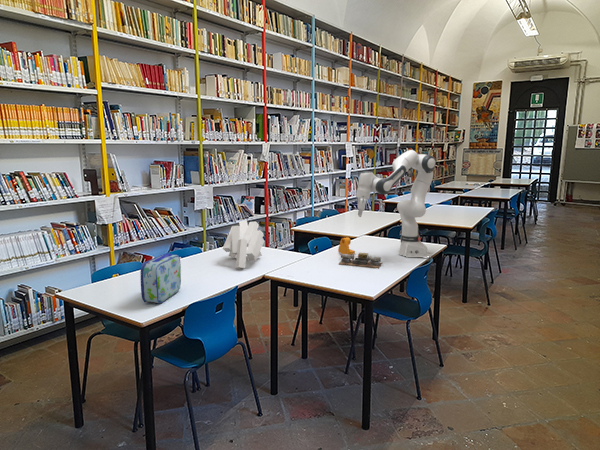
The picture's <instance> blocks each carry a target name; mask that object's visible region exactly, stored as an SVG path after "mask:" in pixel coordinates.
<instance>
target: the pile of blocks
mask: <svg viewBox="0 0 600 450" xmlns="http://www.w3.org/2000/svg"><path fill="white" fill-rule="evenodd" d="M238 224H239V225H231V228H230V230H229V233H228V235H227V238H226V239H225V242H224V244H223V246H222V250H223V251H225V252H226V253H229V254H228V256H229V257H232V258H235V260H236V261H235V263H236V264H235V268H236V269H241V270H242V269H245V268H246V262H247V261H246V259H247V260H248V262H253V261H254V262H255V261H257V259H258V258H260V257H262V256H263V255H262V253H261V250H262V248H263V245H264V243H265V240H264V238H263V237H264V232H263V231H262V230H261V229H259V226H260V224H259V223H258V222H257V221H249V223H248V220H247V219H245V220H240V221H238ZM258 229H259V230H258Z"/></svg>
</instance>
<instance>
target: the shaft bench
mask: <svg viewBox="0 0 600 450" xmlns="http://www.w3.org/2000/svg"><path fill="white" fill-rule="evenodd" d="M340 259H341V260H340V262H339V263H338V265H339V266H347V267H356V268H357V267H359V268H369V269H376V268H378V269H380V267H381V266H382V264H383V262H381V259H382V258H381V257H380V256H371V255H369V254H368V255H367V259H364V258H358V257H355V254H340ZM378 269H377V270H378Z"/></svg>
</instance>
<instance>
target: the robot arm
mask: <svg viewBox="0 0 600 450" xmlns="http://www.w3.org/2000/svg"><path fill="white" fill-rule="evenodd" d="M436 164H437V160H436V158H435V156H433V155H430V154H424V153H422V154H419V153H417V152H416V151H415V150H413V149H408V150H407V151H405V152H403V153H402V154H400V155H398V157H396V158H395V159H394V160H393V162H392V165H391V166H392V170H393V172H392V173H391V174H390V175H389V176H387V177H384V178H381V177H378V176H376V175H375V174H374V173H373V171H370V170H366V171H365V170H363V171H361V172H360V174H359V178H358V183H357V184H358V186H357V189H356V196H355V198H357V209H358V213H357V215H358V217H359V218H361V217H362V215H363V212H364V211H365V210H366V204H367V203H366V202H368V200H370V196H371V192H372V193H373V192H374V193H378V194H380V195H388V194H389V193H390V192H391V190H392V189H393V187H394V186H395V185H396V183H397V182H399V181H400V179H402V178H404V177H403V176H405V174H406V173H407V171H409V170H410V169H412V170H417V175H416V177H415V179H414V181H413V184H412V186H411V189H410V193H411V198H410V199H401V200H400V201H399V202H397V206H396V209H397V211H398V213H399V215H400V220H401V235H400V246H399V251H398V253H399V254H400V255H399V254H398V255H399V256H401V255H403V256H402V257H404V256H406V257H405V258H408V257H427V256H429V257H430V256H431V257H432V254H431V253H429V251H428V247H427V246H426V245H425V244H424V243H423V242H422V241H421V239H422V238H421V236H419V235H418V233H419V225H418V224H419V223H418V222H417V220H416V218H422V217H423V216H425V214H426V211H427V207H426V205H425V202H426V196H427V194H428V191H429V189H430V186H431V184H432V181H433V177H434V170H435V168H436ZM431 257H430V258H431Z"/></svg>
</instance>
